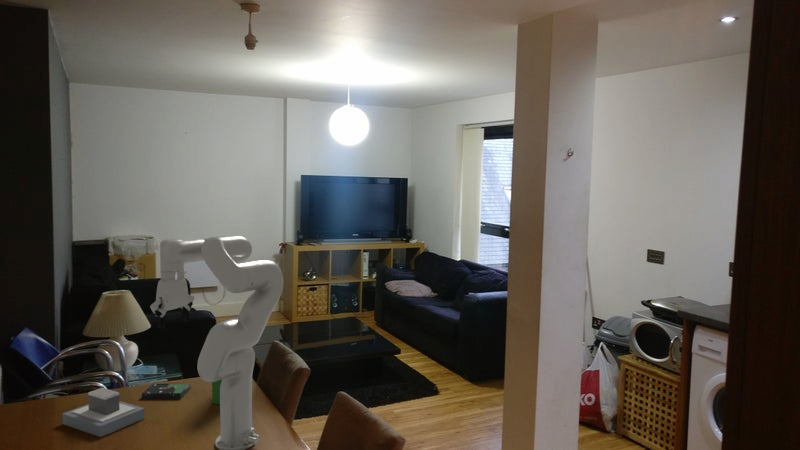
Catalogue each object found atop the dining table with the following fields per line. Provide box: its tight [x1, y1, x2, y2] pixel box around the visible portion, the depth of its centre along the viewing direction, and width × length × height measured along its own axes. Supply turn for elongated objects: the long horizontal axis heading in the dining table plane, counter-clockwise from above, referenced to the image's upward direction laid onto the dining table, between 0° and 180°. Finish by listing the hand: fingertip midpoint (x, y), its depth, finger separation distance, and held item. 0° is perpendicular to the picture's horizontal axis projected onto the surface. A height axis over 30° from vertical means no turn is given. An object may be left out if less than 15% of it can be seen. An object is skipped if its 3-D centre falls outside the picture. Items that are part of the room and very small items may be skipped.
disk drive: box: [141, 383, 191, 400], centre depth 211 cm, size 10×3×15 cm
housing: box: [87, 387, 120, 415], centre depth 185 cm, size 5×9×6 cm, turn 63°
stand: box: [61, 400, 146, 438], centre depth 186 cm, size 20×16×4 cm
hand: (173, 325), depth 188 cm, fingers open, 9 cm apart
